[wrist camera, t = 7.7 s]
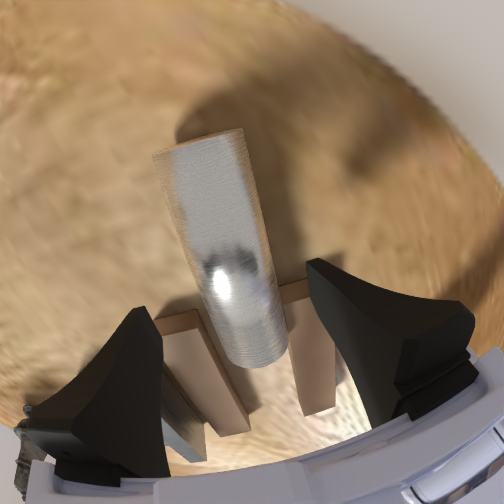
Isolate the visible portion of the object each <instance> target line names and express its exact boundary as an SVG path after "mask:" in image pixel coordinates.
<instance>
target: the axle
mask: <svg viewBox="0 0 504 504" xmlns="http://www.w3.org/2000/svg"><path fill="white" fill-rule="evenodd" d="M151 156H152V159H153V162H154V166H155V169H156V172H157V175H158V178H159V181H160V185H161V188H162V191H163V194H164V197H165V200H166V203H167V206H168V209H169V211H170V214H171V217H172V220H173V223H174V226H175V229H176V231H177V234H178V237H179V240H180V242H181V245H182V248H183V251H184V253H185V256H186V259H187V261H188V264H189V267H190V269H191V272H192V274H193V277H194V279H195V282H196V285H197V287H198V290H199V292H200V295H201V297H202V300H203V302H204V304H205V307H206V309H207V312H208V314H209V317H210V319H211V321H212V324H213V326H214V328H215V331H216V333H217V335H218V338H219V340H220V342H221V345H222V347H223V349H224V351H225V354H226V356H227V358H228V359H229V360H230V361H231V362H232V363H233V364H235V365H237V366H239V367H243V368H260V367H264V366H267V365H269V364H271V363H273V362H275V361H276V360H278V359H279V358H280V357H281V356H282V355H283V354H284V352H285V351H286V349H287V347H288V344H289V336H288V331H287V326H286V321H285V317H284V312H283V307H282V302H281V297H280V293H279V288H278V283H277V278H276V274H275V269H274V264H273V260H272V255H271V251H270V246H269V241H268V237H267V232H266V228H265V223H264V219H263V214H262V210H261V206H260V201H259V197H258V192H257V188H256V184H255V179H254V175H253V171H252V166H251V162H250V158H249V154H248V149H247V145H246V141H245V137H244V133H243V129H242V128H238V129H232V130H226V131H222V132H217V133H213V134H209V135H206V136H202V137H199V138H195V139H192V140H188V141H185V142H182V143H179V144H176V145H173V146H170V147H167V148H165V149H162V150H160V151H158V152H155V153H154V154H152V155H151Z"/></svg>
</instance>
